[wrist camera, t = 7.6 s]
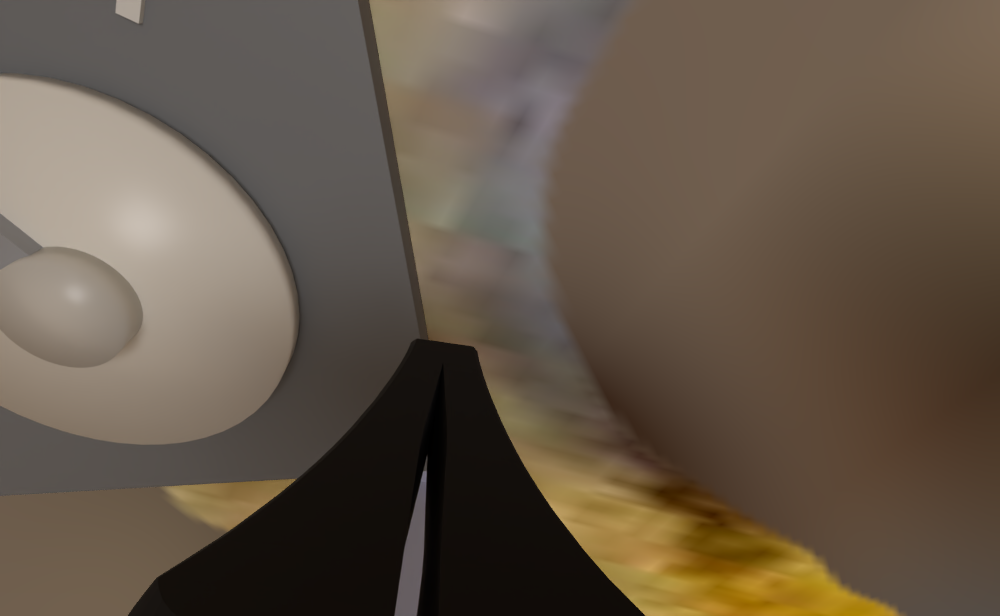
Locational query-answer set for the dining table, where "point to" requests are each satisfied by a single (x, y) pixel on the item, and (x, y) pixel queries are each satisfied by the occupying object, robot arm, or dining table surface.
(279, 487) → the dining table surface
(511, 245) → the dining table surface
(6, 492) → the dial plate
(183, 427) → the dial
